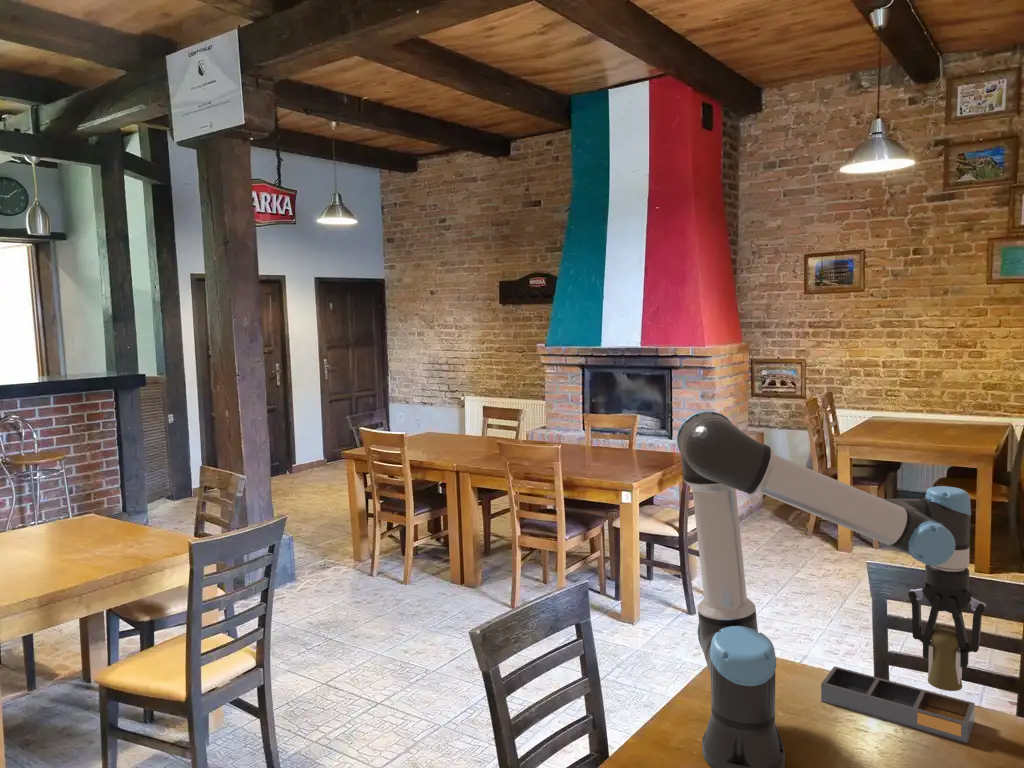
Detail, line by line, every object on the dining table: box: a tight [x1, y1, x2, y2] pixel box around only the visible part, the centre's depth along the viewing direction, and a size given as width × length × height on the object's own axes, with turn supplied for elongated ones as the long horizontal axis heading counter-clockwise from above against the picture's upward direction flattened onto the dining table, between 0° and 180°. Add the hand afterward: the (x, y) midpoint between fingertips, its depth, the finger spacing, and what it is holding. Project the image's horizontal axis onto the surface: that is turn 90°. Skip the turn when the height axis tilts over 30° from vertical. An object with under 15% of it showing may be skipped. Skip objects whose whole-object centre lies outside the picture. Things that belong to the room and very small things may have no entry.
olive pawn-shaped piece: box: [927, 627, 963, 692], centre depth 148 cm, size 6×6×11 cm
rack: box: [820, 666, 976, 745], centre depth 155 cm, size 27×10×4 cm, turn 51°
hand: (944, 677), depth 149 cm, fingers closed on olive pawn-shaped piece, 4 cm apart
